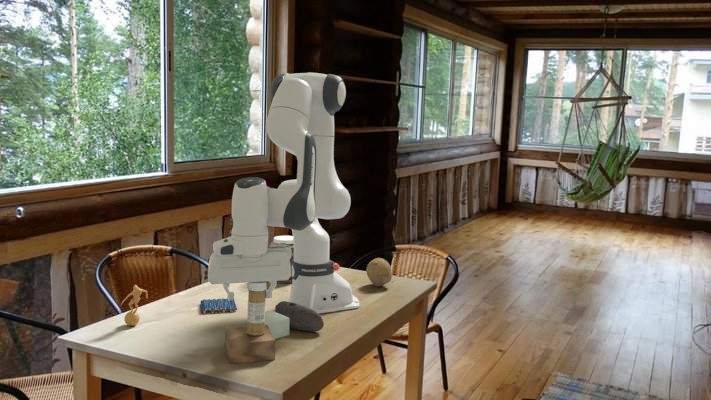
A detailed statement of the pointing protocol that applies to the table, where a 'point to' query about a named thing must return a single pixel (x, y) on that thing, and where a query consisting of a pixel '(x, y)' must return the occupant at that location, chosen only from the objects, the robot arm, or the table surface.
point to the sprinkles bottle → (256, 308)
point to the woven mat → (217, 306)
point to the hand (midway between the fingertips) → (249, 298)
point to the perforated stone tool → (300, 316)
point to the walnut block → (249, 345)
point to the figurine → (133, 316)
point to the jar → (288, 241)
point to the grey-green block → (277, 324)
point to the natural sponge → (379, 272)
